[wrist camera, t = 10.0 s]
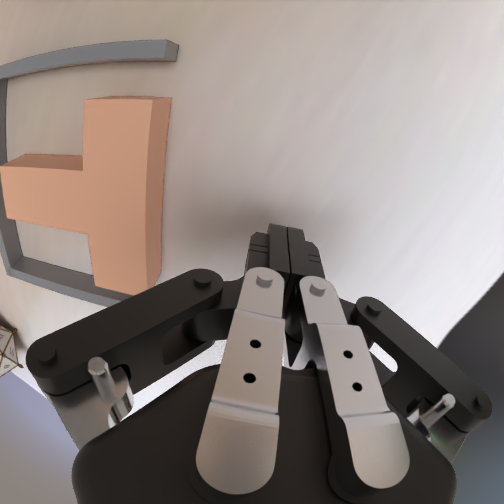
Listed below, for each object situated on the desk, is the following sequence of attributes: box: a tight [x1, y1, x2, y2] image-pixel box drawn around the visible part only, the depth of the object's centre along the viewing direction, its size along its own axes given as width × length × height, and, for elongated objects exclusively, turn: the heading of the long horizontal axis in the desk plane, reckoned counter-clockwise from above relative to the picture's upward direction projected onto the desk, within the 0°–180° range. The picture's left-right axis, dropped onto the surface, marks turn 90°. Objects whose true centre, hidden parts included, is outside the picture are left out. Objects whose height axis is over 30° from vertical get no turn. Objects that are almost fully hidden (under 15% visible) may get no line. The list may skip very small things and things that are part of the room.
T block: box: [0, 96, 172, 295], centre depth 16 cm, size 12×12×3 cm
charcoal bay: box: [0, 40, 179, 307], centre depth 16 cm, size 18×16×2 cm
